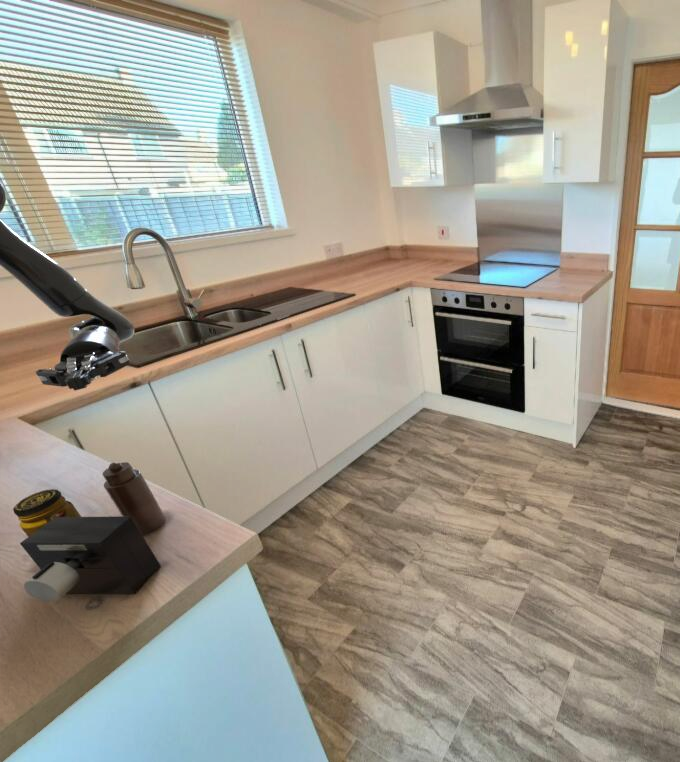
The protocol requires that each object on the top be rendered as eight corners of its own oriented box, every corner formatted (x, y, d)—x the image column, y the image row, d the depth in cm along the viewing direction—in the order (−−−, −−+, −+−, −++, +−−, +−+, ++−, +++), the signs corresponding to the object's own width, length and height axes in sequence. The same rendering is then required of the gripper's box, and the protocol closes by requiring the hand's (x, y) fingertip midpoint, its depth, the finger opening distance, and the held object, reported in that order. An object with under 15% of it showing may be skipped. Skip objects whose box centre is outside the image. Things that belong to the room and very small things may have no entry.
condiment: (36, 570, 69) (-9, 514, 63) (86, 530, 76) (50, 477, 71) (76, 572, 68) (34, 515, 63) (123, 531, 76) (89, 478, 70)
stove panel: (135, 597, 63) (99, 543, 58) (60, 596, 64) (18, 543, 59) (162, 568, 68) (130, 516, 63) (92, 568, 69) (55, 516, 64)
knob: (65, 602, 57) (46, 579, 55) (35, 602, 58) (15, 579, 56) (99, 571, 62) (82, 548, 60) (71, 571, 62) (53, 548, 60)
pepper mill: (127, 539, 74) (86, 474, 67) (144, 519, 78) (106, 456, 72) (157, 535, 74) (119, 469, 68) (172, 515, 79) (137, 452, 72)
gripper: (35, 344, 79) (7, 376, 66) (125, 326, 85) (116, 352, 72) (57, 380, 82) (35, 417, 69) (142, 360, 89) (137, 390, 76)
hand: (77, 384), depth 71 cm, fingers closed
